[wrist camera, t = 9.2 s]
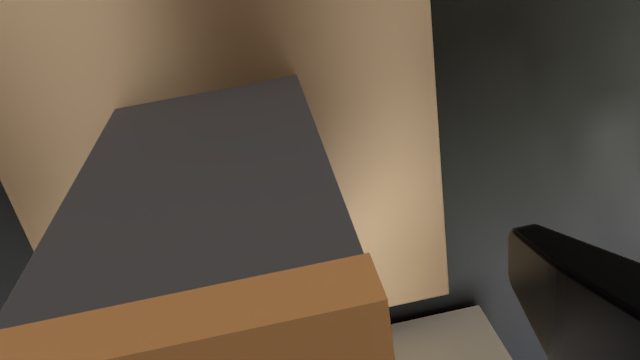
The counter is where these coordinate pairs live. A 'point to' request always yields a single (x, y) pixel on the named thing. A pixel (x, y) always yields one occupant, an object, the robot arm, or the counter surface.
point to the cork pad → (228, 71)
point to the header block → (448, 337)
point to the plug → (202, 243)
